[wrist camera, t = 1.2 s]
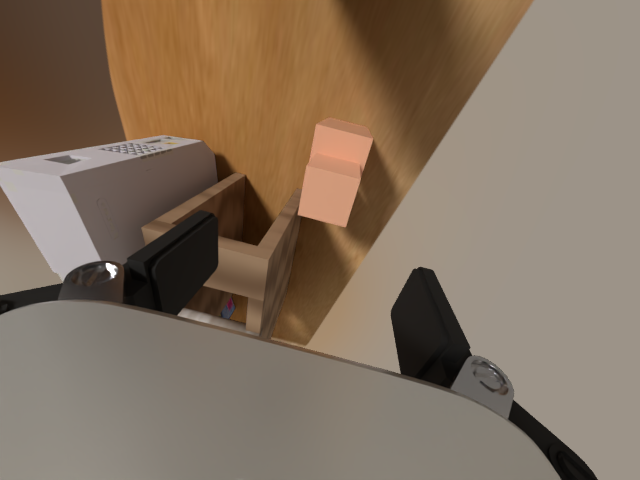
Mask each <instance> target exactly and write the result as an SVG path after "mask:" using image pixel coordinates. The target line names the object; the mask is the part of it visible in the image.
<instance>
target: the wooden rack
mask: <svg viewBox="0 0 640 480" xmlns="http://www.w3.org/2000/svg"><path fill="white" fill-rule="evenodd" d="M301 193H302V189H298V188H297V189H296V191H295V192H294V193H293V195H292V196H291V198H290V199H289V201H288V202H287V204H286V205H285V207H284V208H283V210H282V211H281V213H280V214H279V216H278V217H277V218H276V220H275V221H274V223H273V224H272V226H271V227H270V229H269V230H268V232H267V233H266V235H265V236H264V238H263V239H262V240H261V242H260V243H259V245H258V246H255V245H251V244H247V243H244V242H242V239H243V217H244V196H245V175H244V174H240V173H234V174H232V175H231V176H229V177H227V178H225V179H224V180H222V181H220V182H219V183H217V184H215V185H213V186H212V187H210V188H208V189H207V190H205V191H203V192H201V193H200V194H198V195H196V196H194V197H193V198H191V199H189V200H188V201H186V202H184V203H182V204H181V205H179V206H177V207H176V208H174V209H172V210H170V211H169V212H167V213H165V214H163V215H162V216H160V217H158V218H157V219H155V220H153V221H151V222H150V223H148V224H146V225H144V226H143V227H141V228H142V232H143V237H144V241H145V246H146V245H147V244H149V243H150V242H152V241H154V240H155V239H157V238H158V237H160V236H161V235H163V234H164V233H166V232H167V231H169V230H170V229H172V228H173V227H175V226H176V225H178V224H179V223H181V222H182V221H184V220H185V219H187V218H188V217H190V216H191V215H193V214H194V213H196V212H197V211H199V210H203V211H207V212H211V213H214V215H215V217H217V218H218V261H219V263H218V267H217V269H216V271H215V272H214V273H213V274H212V275H211V277H210V278H209V279H208V280H207V281H206V282H205V284H204V285H203V286H202V287H201V288H200V289H199V291H198V292H197V293H196V294H195V295H194V296H193V298H192V299H191V300H190V301H189V302H188V303H187V305H186V306H185V307H184V308H183V309H182V310H181V312H180V313H179V314H178V315H177V316H180V317H185V318H188V319H192V320H196V321H200V322H204V323H208V324H212V325H216V326H220V327H224V328H228V329H232V330H236V331H240V332H244V333H247V334H251V335H255V336H259V337H263V338H267V339H271V336H272V333H273V330H274V327H275V325H276V322H277V319H278V316H279V314H280V311H281V308H282V305H283V302H284V300H285V297H286V294H287V289H288V284H289V279H290V274H291V268H292V263H293V258H294V253H295V248H296V243H297V238H298V233H299V228H300V222H301V217H302V216H300V215H298V210H299V204H300V199H301ZM233 293H234V294H238V295H242V296H246V297H248V306H247V320H246V323H242V322H238V321H234V320H231V319H227V318H223V317H219V315H220V313H221V312H222V310H223V309H224V307H225V306H226V304H227V302H228V301H229V299H230V298H231V296H232V295H233Z"/></svg>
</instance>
